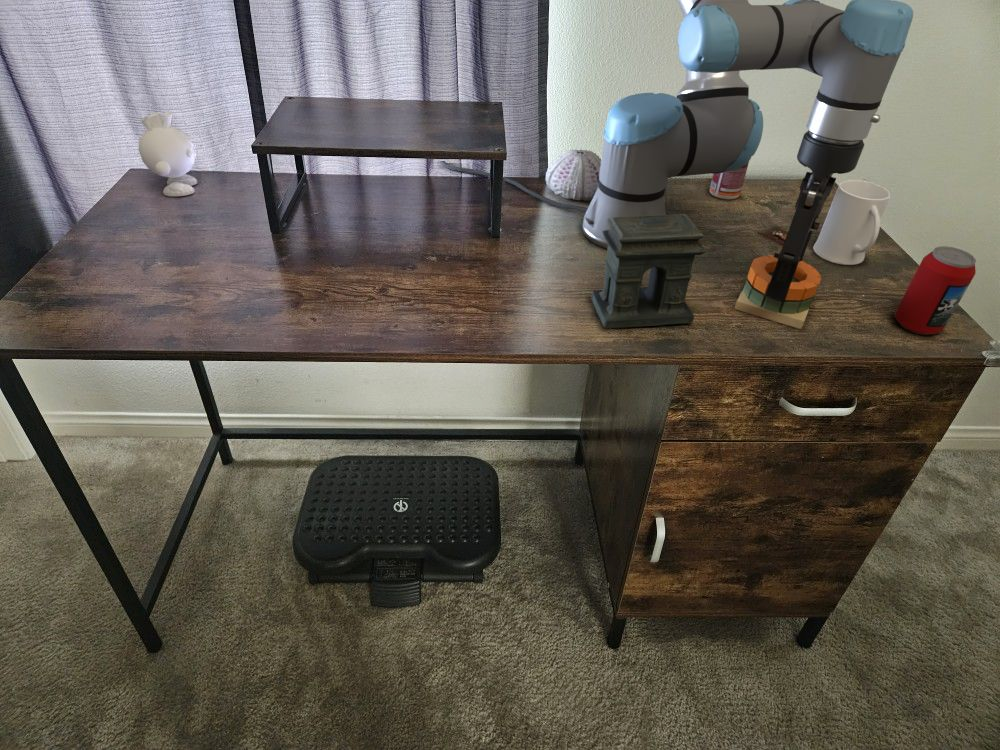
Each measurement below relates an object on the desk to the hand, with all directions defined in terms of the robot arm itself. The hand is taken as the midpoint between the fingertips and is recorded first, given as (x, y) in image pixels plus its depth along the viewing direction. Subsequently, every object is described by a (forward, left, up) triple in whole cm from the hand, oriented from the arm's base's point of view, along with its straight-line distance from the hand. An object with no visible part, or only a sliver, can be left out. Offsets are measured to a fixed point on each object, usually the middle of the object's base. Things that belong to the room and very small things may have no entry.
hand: (782, 281), depth 99 cm
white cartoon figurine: (-109, -23, -4) cm, 111 cm away
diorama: (-4, +24, -4) cm, 25 cm away
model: (-17, -14, -4) cm, 23 cm away
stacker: (0, 0, -4) cm, 4 cm away
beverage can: (+20, +6, -4) cm, 21 cm away
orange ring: (0, 0, 0) cm, 0 cm away
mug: (+7, +22, -4) cm, 24 cm away
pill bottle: (-18, +37, -4) cm, 41 cm away
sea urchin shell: (-44, +21, -4) cm, 49 cm away
